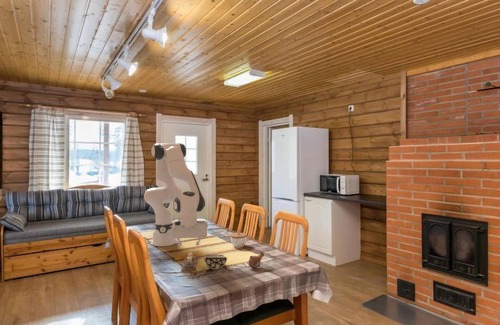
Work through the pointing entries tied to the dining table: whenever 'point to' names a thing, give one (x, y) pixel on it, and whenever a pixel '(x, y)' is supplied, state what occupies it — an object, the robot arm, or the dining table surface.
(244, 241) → the lidded jar
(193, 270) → the wooden board
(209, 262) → the food container
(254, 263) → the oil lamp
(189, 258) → the turner
